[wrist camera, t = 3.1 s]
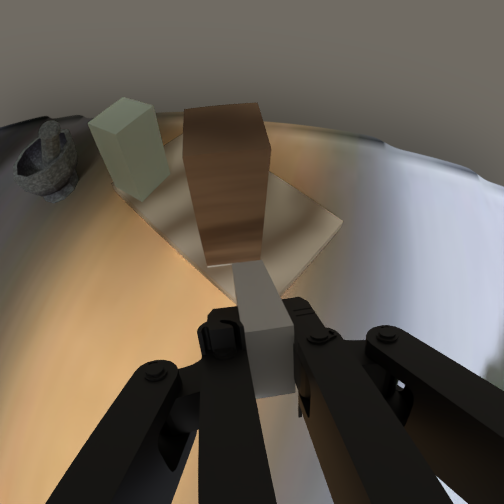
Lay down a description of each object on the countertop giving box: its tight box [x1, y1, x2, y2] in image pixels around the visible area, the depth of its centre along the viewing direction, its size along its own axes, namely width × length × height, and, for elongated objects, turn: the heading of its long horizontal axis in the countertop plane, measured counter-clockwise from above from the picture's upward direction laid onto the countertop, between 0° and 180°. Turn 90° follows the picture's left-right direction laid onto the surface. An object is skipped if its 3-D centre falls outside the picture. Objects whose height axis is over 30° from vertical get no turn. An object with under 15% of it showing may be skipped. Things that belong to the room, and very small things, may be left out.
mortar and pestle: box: [13, 120, 79, 203], centre depth 30 cm, size 11×9×12 cm
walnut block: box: [182, 103, 271, 267], centre depth 23 cm, size 5×5×14 cm
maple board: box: [111, 134, 343, 305], centre depth 33 cm, size 24×14×2 cm, turn 48°
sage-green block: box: [88, 97, 170, 202], centre depth 29 cm, size 5×5×10 cm
